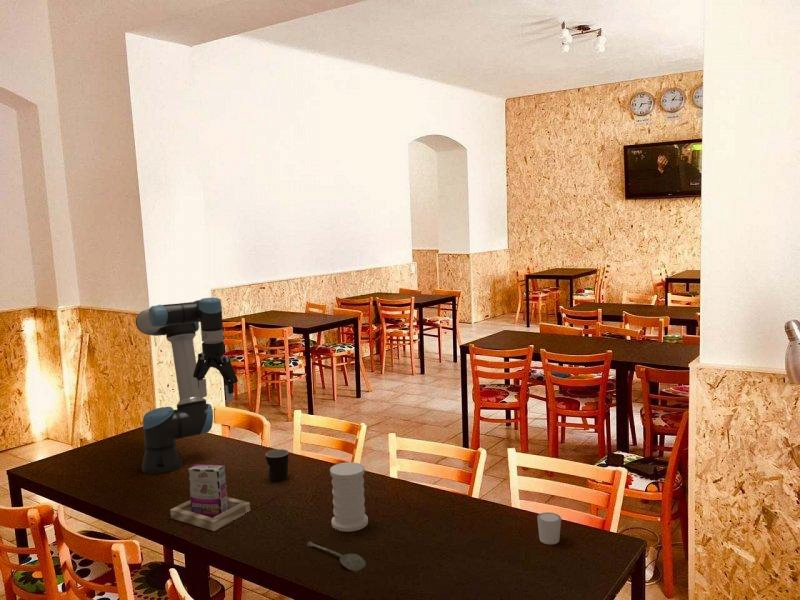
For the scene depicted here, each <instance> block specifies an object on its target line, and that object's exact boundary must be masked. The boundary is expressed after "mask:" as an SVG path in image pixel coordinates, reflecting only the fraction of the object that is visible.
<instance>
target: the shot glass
mask: <svg viewBox="0 0 800 600" xmlns="http://www.w3.org/2000/svg"><path fill="white" fill-rule="evenodd" d="M536 518H537V527H538V536H539V540H540V542H541V543H543V544H546V545H557V544H558V543H559V542H560V535H561V525H562V517H561V515H559V513H555V512H541V513H539V514H538V515H537V516H536Z"/></svg>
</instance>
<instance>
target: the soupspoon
mask: <svg viewBox="0 0 800 600" xmlns="http://www.w3.org/2000/svg"><path fill="white" fill-rule="evenodd" d="M306 546H307V547H309V548H310V547H313V548H317V549H320V550H323V551H326V552H329V553H331V554H333V555H335V556H337V557H339V563H340V564H341V565H342V566H343V567H344V568H346V569H347V570H349V571H351V572H358V571H360V570H363V569H364V568H365V567H366V565H367V563H366V560H365V559H364V558H363V557H362V556H360V555H359V554H356V553H346V554H344V555H343V554H341V553H339V552H338V551H335V550H332V549H329V548H326V547H324V546H320V545H318V544H316V543H313V542H312V541H311V540H310V541H308V542H307V544H306Z"/></svg>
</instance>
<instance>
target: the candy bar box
mask: <svg viewBox="0 0 800 600" xmlns="http://www.w3.org/2000/svg"><path fill="white" fill-rule="evenodd" d="M187 471H188V484H189V496H190V500H191V511H192V512H194V513H197V514H201V515H204V516H208V517H211V518H214V517H215V516H217V515H219V514H221V513H223V512H225V511H227V510H229V509H228V502H227V497H228V491H227V480H226V479H227V478H226V476H227V475H226V466H225V465H216V464H197V463H196V464H194V465H192V466H190V467H189V468H188V469H187Z"/></svg>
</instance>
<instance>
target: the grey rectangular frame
mask: <svg viewBox="0 0 800 600" xmlns="http://www.w3.org/2000/svg"><path fill="white" fill-rule="evenodd" d="M227 502H228V508H229V509H228V510H227V511H225V512H223V513H221V514H219V515H217V516H215V517H214V518H211V517H208V516H204V515H201V514H197V513H194V512H192V511H191V499H190V500H188V501H185V502H183V503H181V504H178V505H176V506H175V507H173V508H171V509H170V510H169V511H170V518H171V519H172V520H176V521H179V522H183V523H185V524H190V525H191V526H195V527H199V528H202V529H206V530H209V531H213V532H215V531H218V530H219V529H221V528H222V527H224V526H226V525H228V524H230V523H232V522H233V520H234V521H235V520H237V519H239V518H241V517H243V516H244V515H246V514H248V513H249V511H250V512H251V502H249V501H245V500H243V499H242V500H241V499H239V498H234V497H230V496H227ZM247 512H248V513H247ZM245 513H246V514H245Z"/></svg>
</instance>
